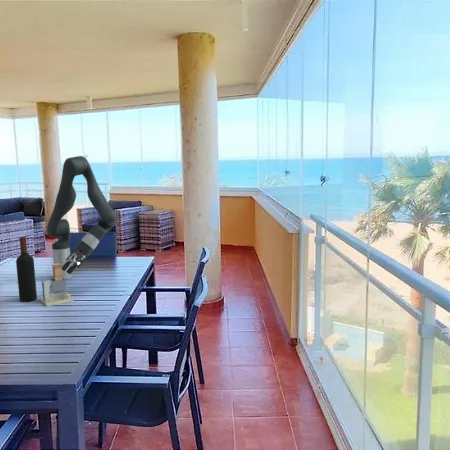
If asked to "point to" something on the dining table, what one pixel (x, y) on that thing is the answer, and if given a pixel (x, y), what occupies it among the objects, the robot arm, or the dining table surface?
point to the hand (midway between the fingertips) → (65, 271)
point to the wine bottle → (26, 274)
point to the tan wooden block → (57, 272)
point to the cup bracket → (54, 288)
